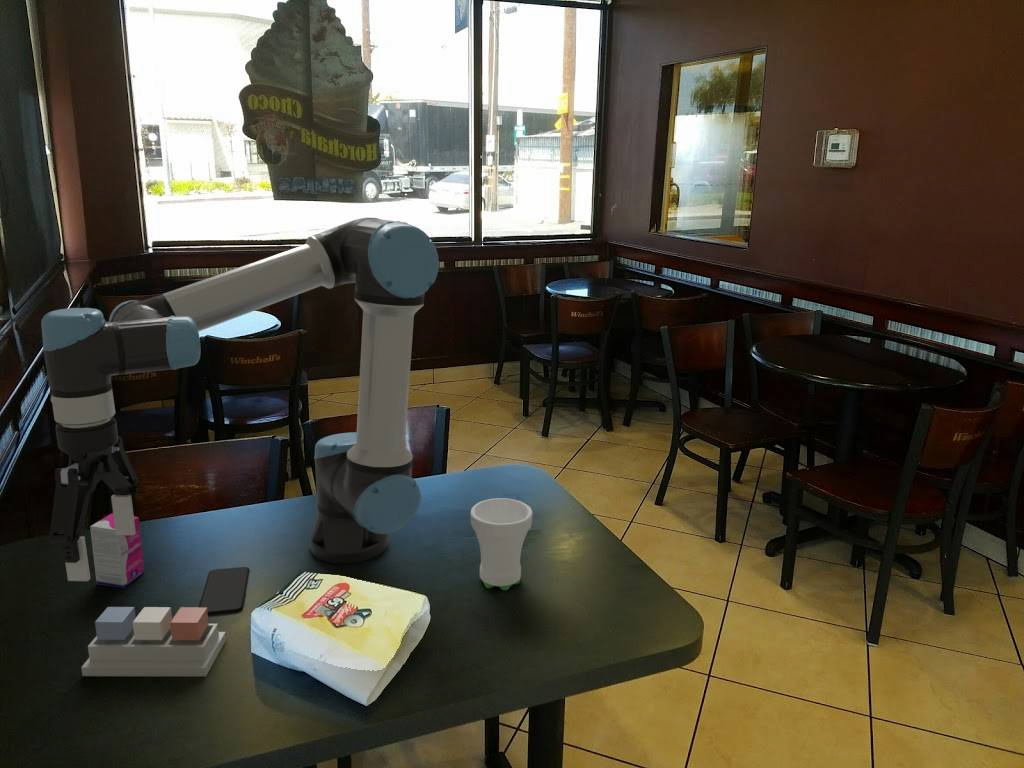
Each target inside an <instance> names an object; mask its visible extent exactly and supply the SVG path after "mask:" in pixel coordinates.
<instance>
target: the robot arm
mask: <svg viewBox="0 0 1024 768" xmlns="http://www.w3.org/2000/svg"><path fill="white" fill-rule="evenodd" d="M439 260H440V259H439V255H438V250H437V248H436V246H435V244H434V242H433V240H432V239H431V238H430V237H429V235H428V234H427V233H426V232H425V231H423V230H422V229H420V228H419V227H417V226H415V225H412V224H409V223H408V222H405V221H400V220H396V221H395V220H387V219H381V218H377V217H362V218H357V219H354V220H351V221H347V222H346V223H345V222H344V223H342V224H339V225H337V226H334V227H332V228H329V229H327V230H324V231H322V232H319V233H316V234H313V235H311V236H308V237H307V239H306V241H305V243H304V244H303V245H300V246H297V247H294V248H291V249H288V250H286V251H283V252H280V253H276V254H274V255H271V256H268V257H265V258H263V259H259V260H257V261H255V262H250V263H248V264H245V265H242V266H240V267H237V268H236V267H235V268H233V269H231V270H228V271H226V272H225V271H224V272H223V273H220V274H216V275H214V276H211V277H208V278H205V279H202V280H199V281H196V282H194V283H190V284H188V285H185V286H182V287H180V288H176V289H174V290H170V291H167V292H164V293H162V294H159V295H157V296H156V295H155V296H152V297H149V298H147V299H144V300H137V299H136V300H134V299H132V300H127V301H123V302H121V303H120V304H118V305H116V306H115V307H114V309H112V312H111V313H110V316H109V317H108V318H109V319H108V321H106V319H105V318H104V317H105V316H104V314H103V312H102V311H101V310H100V309H97V308H92V307H71V308H60V309H55V310H52V311H49V312H47V313H45V315H43V316H42V319H41V322H40V323H41V324H40V325H41V334H42V335H41V336H42V349H43V355H44V361H45V367H46V372H47V378H48V385H49V391H50V393H49V394H50V396H51V397H50V402H51V403H52V404H51V405H52V411H53V417H54V421H55V422H56V425H55V436H56V440H57V441H56V443H57V448H58V449H59V450H60V451H61V452H63V453H65V454H66V455H68V457H69V458H68V465H67V467H57V468H56V469H55V471H54V477H55V479H54V482H55V489H54V498H53V505H52V512H51V519H50V521H51V522H50V529H49V537H48V541H49V542H50V543H54V544H55V543H58V544H61V547H62V553H63V556H64V557H63V559H64V562H65V563H64V564H65V570H66V571H65V572H66V575H67V576H66V577H67V581H68V582H89V580H91V574H90V572H91V571H90V566H89V557H88V551H87V545H86V537H85V536H84V535H82V536H81V534H82V530H83V526H84V522H85V517H86V515H87V509H88V506H89V503H90V498H91V495H92V494H93V493H94V492H95V491H96V487H97V485H98V484H99V482H101V481H103V483H105V484H106V485H107V486H108V487H109V489H111V491H112V492H113V493H114V494H112V495H111V497H110V498H111V499H110V500H111V506H112V513H113V515H114V523H115V531H116V535H134V534H135V533H136V531H135V523H134V516H135V515H134V509H133V499H132V494H136V495H137V493H138V492H139V491H138V490H139V486H138V482H139V478H138V476H137V475H136V472H135V469H134V467H133V466H132V463H131V460H130V459H129V457H128V455H127V452H126V451H125V447H124V443H123V438H122V436H119V434H118V433H119V432H118V426H117V419H116V418H115V417H114V416H115V414H116V408H115V406H116V405H115V400H114V392H113V385H112V384H113V383H112V377H113V376H122V375H129V374H139V373H147V372H149V373H150V372H158V371H167V370H174V371H175V370H178V369H182V368H187V367H193V366H195V365H197V364H198V363H199V361H200V359H201V347H202V346H201V340H200V334H199V333H200V332H202V331H205V330H207V329H209V328H212V327H215V326H217V325H219V324H223V323H226V322H228V321H231V320H233V319H236V318H239V317H241V316H244V315H247V314H249V313H252V312H256V311H257V310H260V309H262V308H266V307H268V306H271V305H273V304H277V303H280V302H281V301H284V300H286V299H289V298H292V297H295V296H297V295H299V294H303V293H305V292H309V291H311V290H313V289H316V288H320V287H324V288H326V289H333V288H335V287H338V286H341V285H346V284H355V287H354V301H355V302H356V304H358V306H359V307H360V308H361V309H362V311H363V312H362V326H361V327H362V328H361V346H360V361H359V363H360V364H359V366H360V367H359V382H358V383H359V384H358V386H359V387H358V400H357V401H358V402H357V418H356V419H357V421H356V422H357V423H356V432H354V431H353V432H343V433H335V434H331V435H328V436H324V437H322V438H320V439H319V440H318V441H317V442H316V443H315V447H314V457H313V459H314V466H315V485H316V498H317V499H316V503H317V514H316V518H315V520H314V524H313V527H312V530H311V533H310V537H309V538H310V539H309V544H310V545H309V546H310V552H311V554H312V555H313V556H314V557H316V558H317V560H318V559H319V560H321V561H324V562H327V563H331V564H341V565H342V564H343V565H344V564H355V563H361V562H365V561H368V560H371V559H373V558H375V557H377V556H379V555H381V554H382V553H383V552H384V551H385V550H386V549H387V547H388V542H389V539H388V537H389V536H388V535H389V534H391V533H395V532H396V531H399V530H400V529H402V528H404V527H405V526H406V525H407V523H409V521H411V520H412V519H413V518H414V517H415V515H416V514H417V512H418V511H419V508H420V505H421V501H422V500H421V499H422V493H421V489H420V486H419V485H418V483H417V481H416V479H414V478H413V477H412V471H413V459H414V458H413V454H412V452H411V451H410V450H409V449H408V448H407V446H406V435H407V434H406V433H407V420H408V419H407V417H408V407H409V406H408V404H409V390H410V379H411V378H410V377H411V361H412V350H413V349H412V347H413V334H414V333H413V332H414V331H413V330H414V318H415V314H416V313H417V312H418V311H419V310H420V309H422V307H424V306H425V305H424V303H425V293H426V292H427V291H429V289H430V287H431V286H432V285H434V283H435V281H436V279H437V277H438V273H439V266H440V264H439Z"/></svg>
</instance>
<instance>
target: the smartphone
mask: <svg viewBox="0 0 1024 768" xmlns="http://www.w3.org/2000/svg"><path fill="white" fill-rule="evenodd" d="M249 577H250V568H249V567H245V566H242V567H231V568H229V567H227V568H219V569H212V570H210V571H209V572H208V574H207V578H206V581H205V585H204V588H203V591H202V595H201V598H200V600H199V605H198V607H207V612H208V616H214V615H215V616H216V615H225V614H235V613H239V612H241V611H242V610H243V609H244V606H245V602H246V601H245V600H246V595H247V589H248V583H249Z"/></svg>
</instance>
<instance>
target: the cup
mask: <svg viewBox="0 0 1024 768" xmlns="http://www.w3.org/2000/svg"><path fill="white" fill-rule="evenodd" d="M532 523H533V509H532V508H531V507H530V506H529V505H528V504H526V503H525V502H523V501H520V500H517V499H513V498H504V497H503V498H502V497H501V498H499V497H497V498H496V497H495V498H490V499H485V500H481V501H479V502H477V503H476V504H474V505H473V506H472V507H471V510H470V524H471V525H470V526H471V528H472V529H473V530H474V532H475V535H476V538H477V541H478V544H479V550H480V564H479V565H480V566H479V579H480V580H481V581H482V583H483V585H484V588H487V589H491V588H494V587H498V588H500V589H501V590H502V591H504V590H505V591H508V590H509V589H510V587H512V586H513V585H518V584H520V581H521V578H522V577H521V576H522V566H521V554H522V549H523V545H524V541H525V538H526V536H527V534H528V533H529V531H530V529H531V528H532Z"/></svg>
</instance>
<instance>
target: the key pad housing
mask: <svg viewBox="0 0 1024 768" xmlns="http://www.w3.org/2000/svg"><path fill="white" fill-rule="evenodd" d="M226 641H227V633H226V631H219V624H218V623H209V625H208V627H207V628H206V630H205V631H204V633H203V635H202V636H201V638H200V640H172V634H171V628H170V629H169V630H168V632H167V633H166V635H165V636H164V638H163V639H162V640H135V637H134V629H133V630H132V631H131V632H130V633H129V635H128V636H127V637H126V639H125V640H97V635H96V636H95V637H94V638H93V639H92V641H91V642H90V643H89V644H88V646H87V652H88V658H87V659H86V661H85V662H84V664H83V665H81V667H80V668H81V673H82V677H204V678H205V677H207V675H208V674H209V672H210V670H211V668H212V666H213V665H214V663H215V661H216V660H217V658H218V656H219V654H220V653H221V651H222V649H223V647H224V644H225V643H226Z"/></svg>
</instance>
